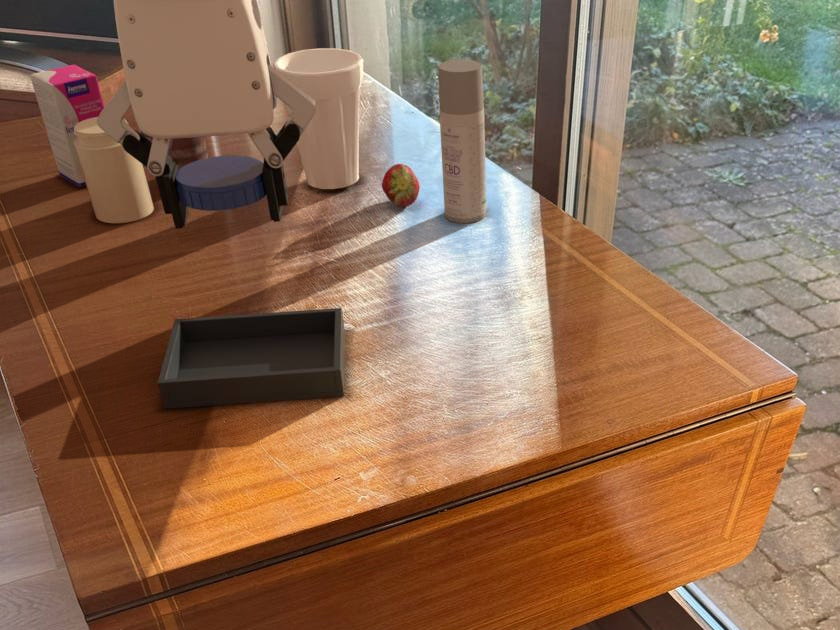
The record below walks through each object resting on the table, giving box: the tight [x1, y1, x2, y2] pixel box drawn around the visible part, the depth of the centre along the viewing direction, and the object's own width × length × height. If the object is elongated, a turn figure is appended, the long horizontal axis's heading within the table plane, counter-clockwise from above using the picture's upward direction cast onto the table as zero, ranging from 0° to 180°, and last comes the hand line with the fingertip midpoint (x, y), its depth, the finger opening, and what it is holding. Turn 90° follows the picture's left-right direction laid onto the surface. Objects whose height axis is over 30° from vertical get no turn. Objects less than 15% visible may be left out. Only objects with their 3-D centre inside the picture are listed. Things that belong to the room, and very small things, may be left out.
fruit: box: [381, 163, 421, 208], centre depth 111 cm, size 4×6×5 cm
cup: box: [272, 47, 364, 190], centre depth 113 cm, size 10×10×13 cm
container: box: [438, 58, 487, 224], centre depth 105 cm, size 5×5×15 cm
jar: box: [74, 117, 155, 224], centre depth 110 cm, size 7×7×9 cm
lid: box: [175, 155, 267, 212], centre depth 76 cm, size 7×7×2 cm
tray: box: [157, 307, 346, 410], centre depth 87 cm, size 15×11×2 cm
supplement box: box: [29, 64, 105, 188], centre depth 117 cm, size 6×6×12 cm
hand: (229, 216), depth 78 cm, fingers closed on lid, 6 cm apart
